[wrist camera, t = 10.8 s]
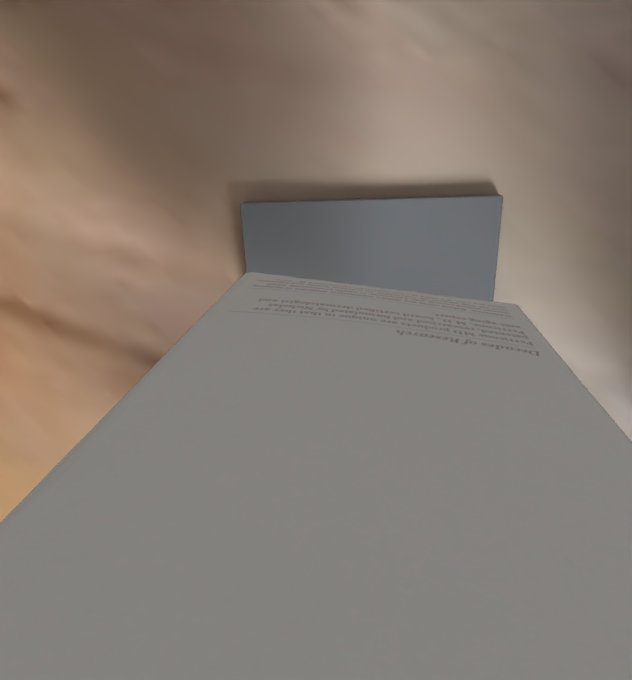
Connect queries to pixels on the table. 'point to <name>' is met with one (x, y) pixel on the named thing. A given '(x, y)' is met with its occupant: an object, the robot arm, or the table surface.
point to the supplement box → (332, 505)
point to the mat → (380, 242)
